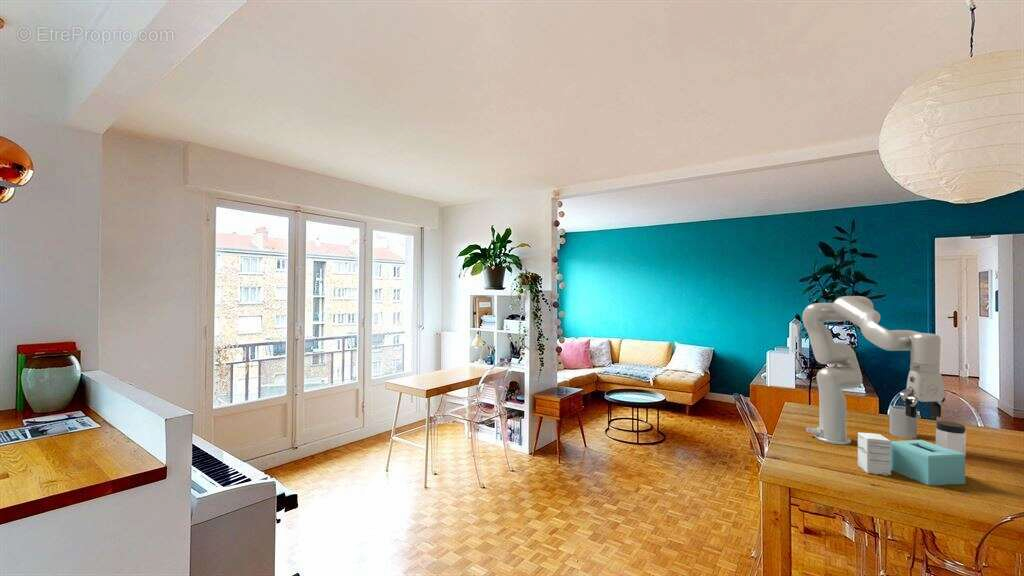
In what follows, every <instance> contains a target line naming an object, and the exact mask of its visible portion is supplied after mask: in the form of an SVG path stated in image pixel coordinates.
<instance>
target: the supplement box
mask: <svg viewBox="0 0 1024 576" xmlns="http://www.w3.org/2000/svg"><path fill="white" fill-rule="evenodd" d="M891 441H892V440H891V439H889V438H887V437H885V436H884V435H882V434H880V433H872V432H871V433H870V432H859V431H858V432H857V466H858V467H860V468H861V469H862V470H863V471H864V472H866V473H867V474H869V473H873V474H872V475H878V474H883V475H882V476H888V475H891V476H892V470H891Z"/></svg>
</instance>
